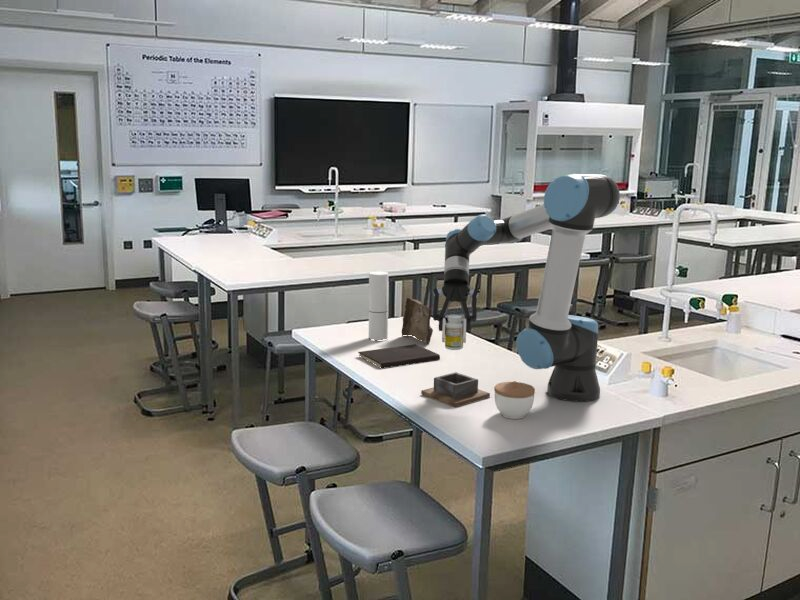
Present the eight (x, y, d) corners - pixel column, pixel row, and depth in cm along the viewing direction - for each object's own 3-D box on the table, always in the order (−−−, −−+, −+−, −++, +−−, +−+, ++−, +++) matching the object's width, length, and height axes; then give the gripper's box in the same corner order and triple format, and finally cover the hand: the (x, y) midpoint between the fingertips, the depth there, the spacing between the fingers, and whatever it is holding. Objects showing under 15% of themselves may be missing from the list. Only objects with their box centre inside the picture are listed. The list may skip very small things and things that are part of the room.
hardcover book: (358, 358, 253) (358, 351, 253) (415, 350, 265) (415, 344, 265) (380, 370, 240) (381, 363, 240) (440, 361, 252) (440, 354, 251)
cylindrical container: (388, 336, 281) (389, 271, 276) (386, 341, 274) (387, 275, 269) (370, 336, 282) (370, 271, 277) (367, 340, 275) (367, 274, 270)
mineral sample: (400, 336, 282) (401, 297, 279) (409, 335, 284) (410, 296, 281) (426, 346, 268) (427, 305, 265) (435, 345, 270) (436, 304, 267)
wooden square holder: (489, 397, 214) (490, 379, 213) (455, 407, 205) (456, 389, 204) (455, 385, 224) (456, 368, 223) (421, 394, 215) (421, 377, 214)
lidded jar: (541, 415, 200) (542, 381, 198) (519, 425, 192) (521, 390, 190) (507, 405, 207) (509, 373, 205) (485, 415, 199) (486, 381, 197)
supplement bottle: (455, 351, 213) (456, 318, 212) (441, 348, 217) (441, 316, 215) (466, 347, 217) (467, 315, 216) (452, 344, 221) (452, 313, 219)
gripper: (486, 282, 228) (485, 347, 215) (426, 281, 230) (422, 345, 217) (487, 268, 222) (486, 334, 209) (425, 266, 223) (421, 332, 211)
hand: (453, 340), depth 213 cm, fingers closed on supplement bottle, 5 cm apart
